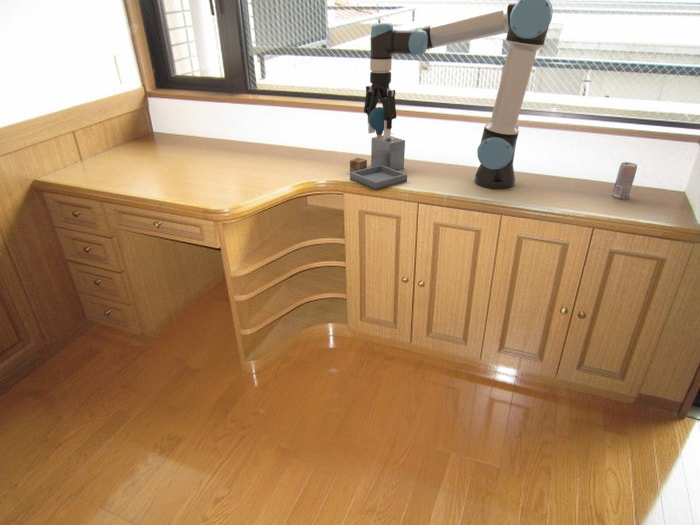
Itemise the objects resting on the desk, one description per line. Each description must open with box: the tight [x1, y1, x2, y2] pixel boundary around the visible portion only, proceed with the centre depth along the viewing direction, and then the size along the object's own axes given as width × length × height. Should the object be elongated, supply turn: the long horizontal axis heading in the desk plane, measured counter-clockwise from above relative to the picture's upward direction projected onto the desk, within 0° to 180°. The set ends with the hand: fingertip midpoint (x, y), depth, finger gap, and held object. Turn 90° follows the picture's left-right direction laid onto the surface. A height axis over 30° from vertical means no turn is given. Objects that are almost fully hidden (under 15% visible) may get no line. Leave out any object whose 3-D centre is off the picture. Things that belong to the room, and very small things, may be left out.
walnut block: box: [349, 157, 368, 173], centre depth 203 cm, size 5×5×5 cm
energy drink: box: [612, 161, 638, 200], centre depth 174 cm, size 5×5×12 cm
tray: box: [349, 165, 408, 191], centre depth 193 cm, size 16×16×3 cm
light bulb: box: [367, 106, 386, 140], centre depth 183 cm, size 8×8×12 cm
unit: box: [370, 132, 406, 171], centre depth 206 cm, size 12×8×14 cm, turn 38°
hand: (379, 135), depth 185 cm, fingers closed on light bulb, 8 cm apart
